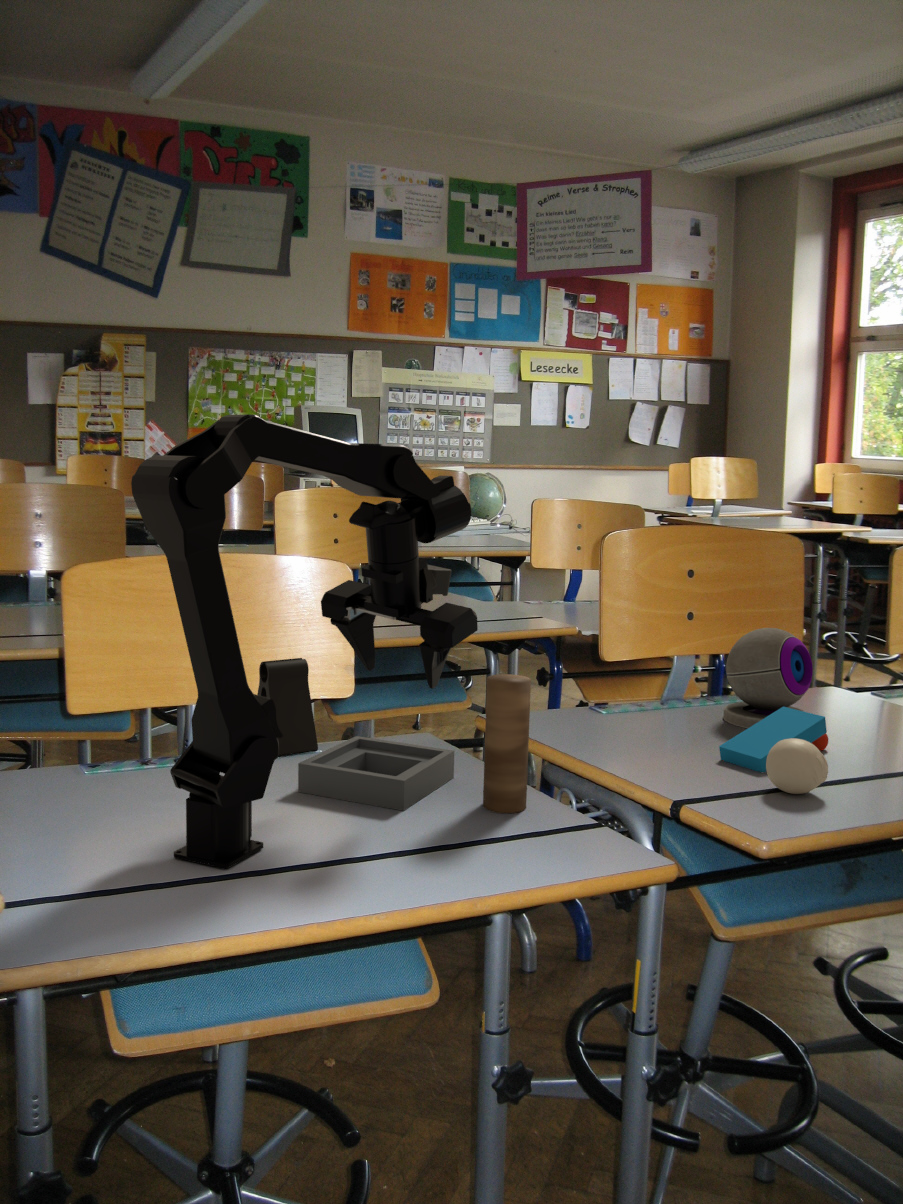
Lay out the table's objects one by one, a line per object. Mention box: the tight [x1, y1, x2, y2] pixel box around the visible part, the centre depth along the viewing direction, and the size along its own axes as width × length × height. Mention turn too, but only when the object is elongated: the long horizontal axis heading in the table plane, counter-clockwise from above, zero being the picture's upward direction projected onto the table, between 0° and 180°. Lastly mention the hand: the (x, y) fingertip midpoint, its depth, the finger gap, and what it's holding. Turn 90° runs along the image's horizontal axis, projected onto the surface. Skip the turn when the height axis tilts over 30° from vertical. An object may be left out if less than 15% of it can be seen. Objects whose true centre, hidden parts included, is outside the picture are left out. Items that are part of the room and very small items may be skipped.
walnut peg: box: [482, 673, 532, 814], centre depth 117 cm, size 5×5×15 cm
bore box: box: [297, 735, 455, 812], centre depth 124 cm, size 14×14×4 cm
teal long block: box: [718, 707, 829, 773], centre depth 141 cm, size 7×7×18 cm
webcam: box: [723, 627, 814, 729], centre depth 161 cm, size 13×13×15 cm
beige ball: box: [766, 738, 829, 795], centre depth 125 cm, size 7×7×7 cm
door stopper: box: [256, 657, 319, 757], centre depth 139 cm, size 9×6×12 cm, turn 35°
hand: (401, 678), depth 120 cm, fingers open, 9 cm apart
